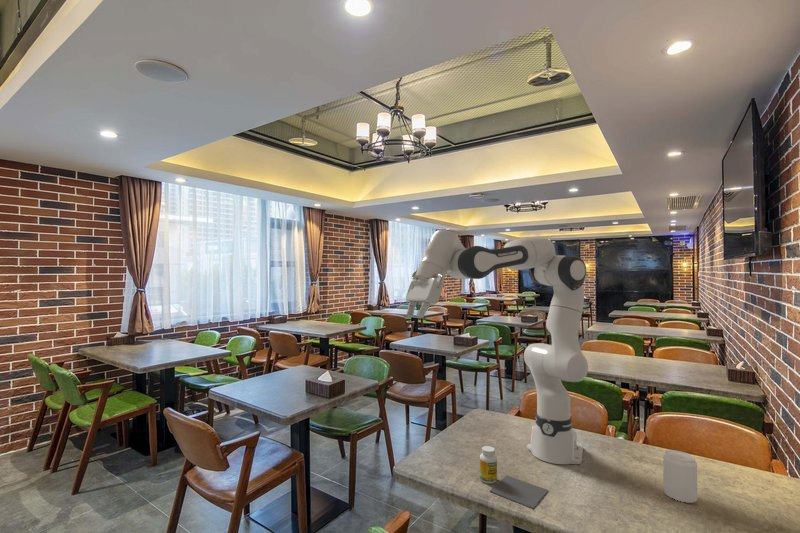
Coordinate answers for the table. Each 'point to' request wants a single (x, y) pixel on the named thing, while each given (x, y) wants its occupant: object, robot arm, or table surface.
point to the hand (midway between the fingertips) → (414, 316)
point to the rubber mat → (519, 491)
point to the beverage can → (680, 476)
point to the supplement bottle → (488, 465)
